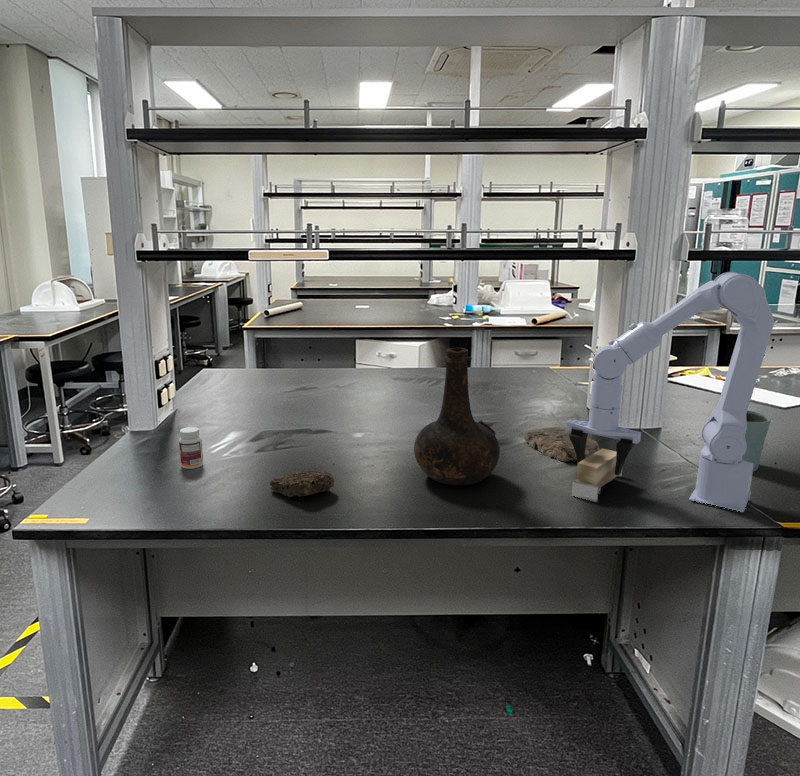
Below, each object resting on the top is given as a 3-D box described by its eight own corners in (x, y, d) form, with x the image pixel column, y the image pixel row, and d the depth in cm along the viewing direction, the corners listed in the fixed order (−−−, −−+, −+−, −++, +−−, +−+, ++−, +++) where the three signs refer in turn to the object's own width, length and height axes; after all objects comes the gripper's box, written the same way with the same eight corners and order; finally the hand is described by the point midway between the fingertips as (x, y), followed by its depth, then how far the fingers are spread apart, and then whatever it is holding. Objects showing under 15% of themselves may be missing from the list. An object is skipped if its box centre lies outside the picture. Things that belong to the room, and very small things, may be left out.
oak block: (618, 474, 129) (620, 452, 128) (594, 491, 120) (596, 468, 119) (600, 470, 132) (602, 448, 131) (575, 486, 123) (577, 463, 122)
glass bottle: (512, 489, 124) (520, 355, 118) (429, 499, 119) (433, 359, 113) (477, 459, 141) (482, 340, 134) (403, 467, 136) (404, 343, 129)
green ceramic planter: (731, 455, 145) (738, 406, 142) (772, 469, 137) (781, 418, 134) (702, 461, 141) (709, 412, 138) (744, 476, 132) (752, 423, 129)
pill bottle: (185, 461, 138) (182, 426, 136) (206, 461, 138) (203, 426, 136) (177, 469, 134) (174, 432, 132) (198, 469, 133) (196, 433, 131)
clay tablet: (614, 465, 139) (571, 436, 158) (616, 445, 138) (572, 418, 156) (558, 471, 136) (521, 441, 155) (559, 451, 135) (522, 423, 153)
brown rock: (340, 495, 121) (340, 471, 120) (297, 509, 115) (296, 484, 113) (308, 478, 129) (307, 456, 128) (266, 491, 123) (265, 467, 122)
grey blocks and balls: (621, 476, 132) (622, 463, 131) (596, 502, 118) (597, 488, 118) (598, 470, 135) (599, 458, 134) (571, 496, 121) (572, 482, 121)
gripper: (647, 407, 121) (640, 471, 125) (576, 396, 130) (571, 456, 133) (638, 415, 116) (630, 482, 119) (564, 403, 124) (559, 465, 127)
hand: (599, 469), depth 126 cm, fingers open, 7 cm apart
